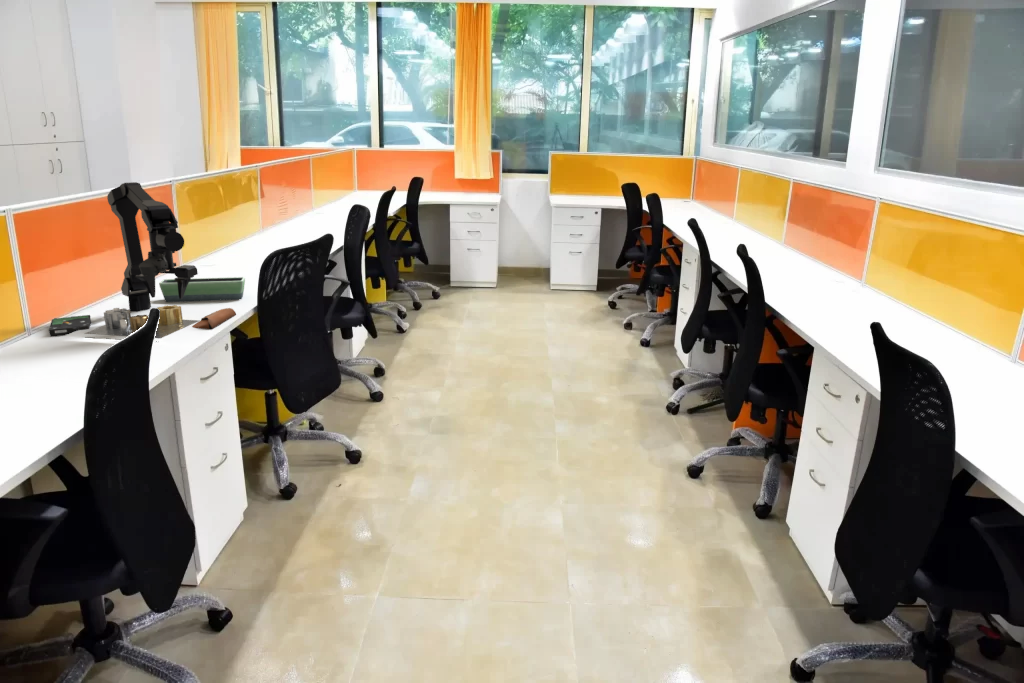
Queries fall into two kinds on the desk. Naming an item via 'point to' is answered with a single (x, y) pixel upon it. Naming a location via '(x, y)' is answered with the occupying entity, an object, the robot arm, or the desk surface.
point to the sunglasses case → (215, 319)
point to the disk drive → (69, 325)
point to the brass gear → (170, 314)
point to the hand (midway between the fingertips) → (167, 298)
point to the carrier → (133, 324)
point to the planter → (204, 289)
